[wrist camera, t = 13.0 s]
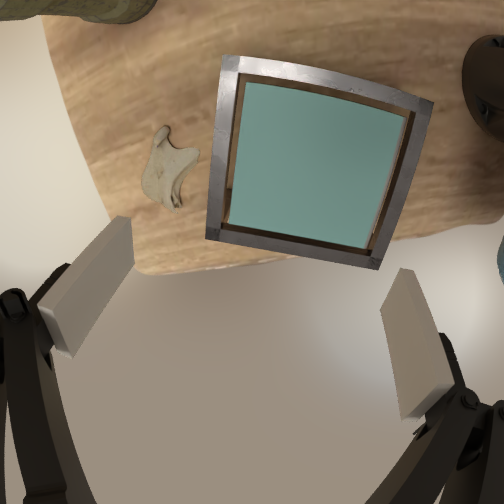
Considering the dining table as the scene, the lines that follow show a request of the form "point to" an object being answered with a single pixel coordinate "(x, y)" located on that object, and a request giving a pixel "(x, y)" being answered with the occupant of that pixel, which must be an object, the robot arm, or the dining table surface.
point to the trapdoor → (312, 164)
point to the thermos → (78, 9)
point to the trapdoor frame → (290, 243)
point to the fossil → (167, 170)
